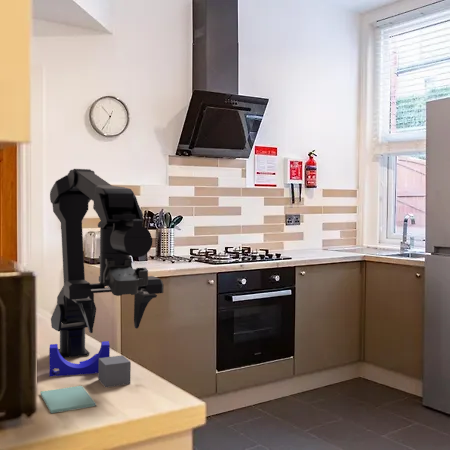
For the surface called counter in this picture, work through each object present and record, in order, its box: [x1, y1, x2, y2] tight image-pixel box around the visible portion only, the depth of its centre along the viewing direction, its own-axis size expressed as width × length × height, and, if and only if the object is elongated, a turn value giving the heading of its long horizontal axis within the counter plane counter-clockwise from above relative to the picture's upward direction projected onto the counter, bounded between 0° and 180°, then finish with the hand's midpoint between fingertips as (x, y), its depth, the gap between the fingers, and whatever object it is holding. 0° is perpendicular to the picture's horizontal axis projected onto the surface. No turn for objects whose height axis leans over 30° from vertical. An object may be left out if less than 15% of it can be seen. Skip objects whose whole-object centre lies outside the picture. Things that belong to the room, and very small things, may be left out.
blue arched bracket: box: [48, 340, 111, 377], centre depth 116 cm, size 12×4×6 cm, turn 106°
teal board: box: [40, 385, 97, 414], centre depth 99 cm, size 10×8×1 cm
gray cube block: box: [97, 355, 132, 388], centre depth 110 cm, size 5×5×4 cm
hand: (114, 330), depth 109 cm, fingers open, 9 cm apart
